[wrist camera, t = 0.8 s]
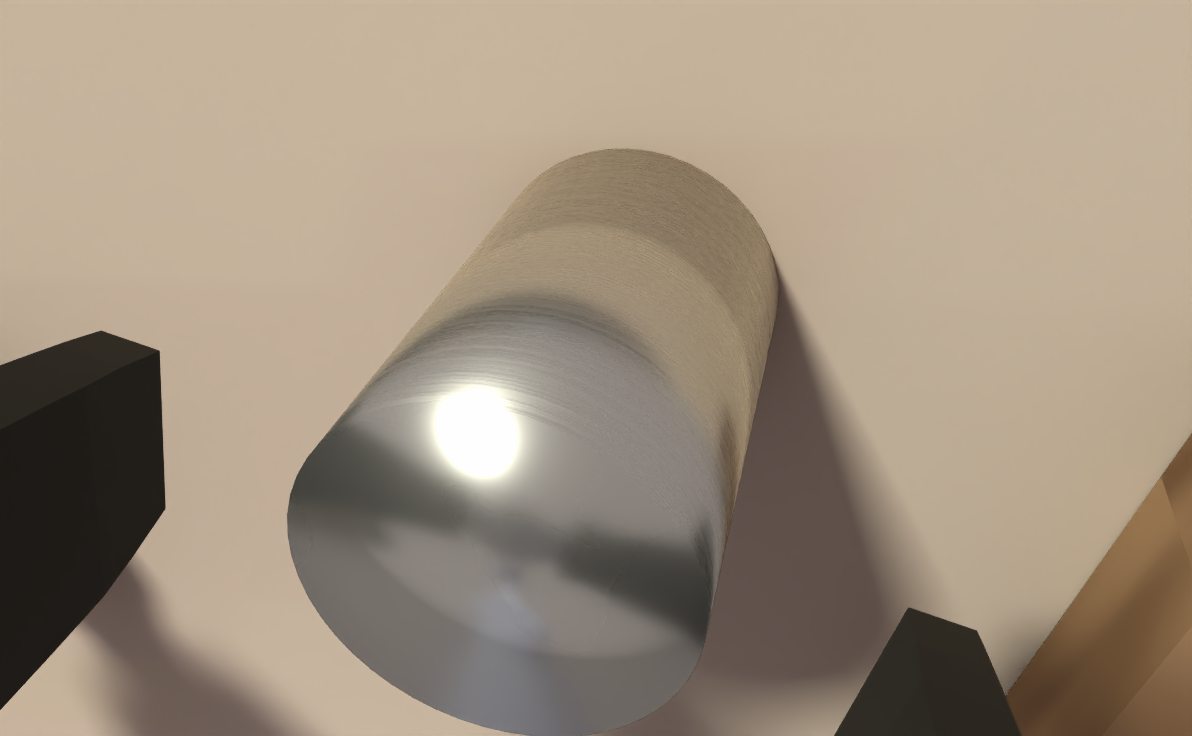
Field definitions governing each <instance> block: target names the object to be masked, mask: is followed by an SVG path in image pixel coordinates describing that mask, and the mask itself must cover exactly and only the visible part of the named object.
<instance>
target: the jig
mask: <svg viewBox="0 0 1192 736" xmlns="http://www.w3.org/2000/svg"><path fill="white" fill-rule="evenodd" d="M1006 699H1007V701H1008V703H1009V706H1010V708H1011V711H1012V713H1013V715H1014V718H1015V720H1016V722H1017V725H1018V727H1019V729H1020V732H1021V734H1022V736H1192V434H1191V435H1190V437H1189V438H1188V440H1187V441H1186V442H1185V444H1184V445H1183V447H1182V448H1181V449H1180V451H1179V452H1178V454H1177V455H1176V457H1175V458H1174V459H1173V461H1172V462H1171V464H1170V465H1169V466H1168V468H1167V469H1166V471H1165V472H1164V473H1163V475H1162V476H1161V478H1160V479H1159V481H1158V482H1157V483H1156V485H1155V486H1154V488H1153V489H1152V490H1151V492H1150V493H1149V495H1148V496H1147V498H1146V499H1145V500H1144V502H1143V503H1142V505H1141V506H1140V507H1139V509H1138V510H1137V512H1136V513H1135V514H1134V516H1133V517H1132V519H1131V520H1130V522H1129V523H1128V524H1127V526H1126V527H1125V529H1124V530H1123V531H1122V533H1121V534H1120V536H1119V537H1118V539H1117V540H1116V541H1115V543H1114V544H1113V546H1112V547H1111V548H1110V550H1109V551H1108V553H1107V554H1106V555H1105V557H1104V558H1103V560H1102V561H1101V563H1100V564H1099V565H1098V567H1097V568H1096V570H1095V571H1094V572H1093V574H1092V575H1091V577H1090V578H1089V580H1088V581H1087V582H1086V584H1085V585H1084V587H1083V588H1082V589H1081V591H1080V592H1079V594H1078V595H1077V597H1076V598H1075V599H1074V601H1073V602H1072V604H1071V605H1070V606H1069V608H1068V609H1067V611H1066V612H1065V613H1064V615H1063V616H1062V618H1061V619H1060V621H1059V622H1058V623H1057V625H1056V626H1055V628H1054V629H1053V630H1052V632H1051V633H1050V635H1049V636H1048V638H1047V639H1046V640H1045V642H1044V643H1043V645H1042V646H1041V647H1040V649H1039V650H1038V652H1037V653H1036V654H1035V656H1034V657H1033V659H1032V660H1031V662H1030V663H1029V664H1028V666H1027V667H1026V669H1025V670H1024V671H1023V673H1022V674H1021V676H1020V677H1019V679H1018V680H1017V681H1016V683H1015V684H1014V686H1013V687H1012V688H1011V690H1010V691H1009V693H1008V694H1007V695H1006Z"/></svg>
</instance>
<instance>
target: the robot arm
mask: <svg viewBox="0 0 1192 736" xmlns="http://www.w3.org/2000/svg"><path fill="white" fill-rule="evenodd" d="M164 510H165V482H164V456H163V429H162V402H161V376H160V351H159V350H156V349H153V348H150V347H147V346H144V345H141V344H138V343H136V342H133V341H130V340H127V339H124V338H121V337H118V336H115V335H112V334H109V333H106V332H103V331H98V332H95V333H92V334H89V335H86V336H82V337H79V338H76V339H73V340H70V341H67V342H64V343H61V344H58V345H55V346H53V347H50V348H47V349H44V350H41V351H38V352H36V353H33V354H30V355H27V356H25V357H22V358H19V359H16V360H14V361H11V362H8V363H5V364H3V365H0V710H1V709H2V708H3V707H4V705H5V704H6V703H7V702H8V701H9V700H10V699H11V698H12V697H13V696H14V695H15V694H16V692H17V691H18V690H19V689H20V688H21V687H22V686H23V685H24V684H25V683H26V682H27V681H28V679H29V678H30V677H31V676H32V675H33V674H34V673H35V672H36V671H37V670H38V669H39V667H40V666H41V665H42V664H43V663H44V662H45V661H46V660H47V659H48V658H49V657H50V655H51V654H52V653H53V652H54V651H55V650H56V649H57V648H58V647H59V646H60V644H61V643H62V642H63V641H64V640H65V639H66V638H67V637H68V636H69V634H70V633H71V632H72V631H73V630H74V629H75V628H76V627H77V626H78V625H79V623H80V622H81V621H82V620H83V619H84V618H85V617H86V616H87V615H88V613H89V612H90V611H91V610H92V609H93V608H94V607H95V605H96V604H97V603H98V602H99V601H100V600H101V599H102V598H103V596H104V595H105V594H106V593H107V591H108V590H109V588H110V587H111V586H112V584H113V583H114V582H115V580H116V579H117V577H118V576H119V575H120V573H121V572H122V571H123V569H124V568H125V567H126V565H127V564H128V562H129V561H130V560H131V558H132V557H133V556H134V554H135V553H136V551H137V550H138V548H139V547H140V545H141V544H142V542H143V541H144V539H145V538H146V536H147V535H148V533H149V532H150V531H151V529H152V528H153V526H154V525H155V523H156V522H157V520H158V519H159V517H160V516H161V514H162V513H163V511H164ZM834 736H1022V734H1021V732H1020V729H1019V727H1018V725H1017V722H1016V720H1015V718H1014V715H1013V713H1012V711H1011V708H1010V706H1009V703H1008V701H1007V699H1006V696H1005V694H1004V692H1003V689H1002V687H1001V685H1000V682H999V680H998V677H997V675H996V673H995V670H994V668H993V666H992V663H991V661H990V659H989V656H988V654H987V652H986V649H985V647H984V645H983V643H982V641H981V638H980V636H979V634H978V632H977V631H976V630H973V629H970V628H967V627H965V626H962V625H959V624H956V623H953V622H950V621H947V620H944V619H941V618H938V617H935V616H932V615H930V614H927V613H924V612H921V611H918V610H915V609H912V608H909V607H908V609H907V611H906V612H905V614H904V616H903V618H902V619H901V621H900V623H899V624H898V626H897V628H896V630H895V631H894V633H893V635H892V637H891V638H890V640H889V642H888V644H887V645H886V647H885V649H884V650H883V652H882V654H881V656H880V657H879V659H878V661H877V663H876V664H875V666H874V668H873V669H872V671H871V673H870V675H869V676H868V678H867V680H866V682H865V683H864V685H863V687H862V688H861V690H860V692H859V694H858V695H857V697H856V699H855V701H854V702H853V704H852V706H851V707H850V709H849V711H848V713H847V714H846V716H845V718H844V720H843V721H842V723H841V725H840V726H839V728H838V730H837V732H836V733H835V735H834Z"/></svg>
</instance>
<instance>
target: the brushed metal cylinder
mask: <svg viewBox="0 0 1192 736" xmlns="http://www.w3.org/2000/svg"><path fill="white" fill-rule="evenodd" d="M777 305H778V279H777V273H776V267H775V262H774V259H773V256H772V253H771V249H770V246H769V244H768V242H767V240H766V238H765V236H764V234H763V232H762V229H761V228H760V226H759V225H758V223H757V222H756V220H755V219H754V217H753V216H752V214H751V213H750V211H749V210H748V209H747V208H746V207H745V206H744V204H743V203H742V202H741V201H740V200H739V199H738V198H737V197H736V196H735V195H734V194H733V193H732V192H731V191H730V190H729V189H727V188H726V187H725V186H724V185H723V184H722V183H720V182H719V181H717V180H716V179H714V178H713V177H712V176H710V175H709V174H707V173H706V172H704V171H702V170H700V169H698V168H696V167H694V166H693V165H691V164H689V163H686V162H684V161H681V160H678V159H676V158H673V157H671V156H667V155H663V154H659V153H655V152H651V151H644V150H635V149H608V150H601V151H594V152H589V153H586V154H582V155H579V156H575V157H572V158H570V159H568V160H566V161H563V162H561V163H559V164H557V165H555V166H553V167H552V168H550V169H549V170H547V171H545V172H544V173H542V174H541V175H540V176H539V177H537V178H536V179H535V180H534V181H533V182H532V183H530V184H529V185H528V186H527V187H526V189H525V190H524V191H523V192H522V193H521V194H520V196H519V197H518V198H517V199H516V200H515V202H514V203H513V204H512V205H511V207H510V208H509V209H508V210H507V212H506V213H505V214H504V215H503V216H502V218H501V219H500V220H499V221H498V223H497V224H496V225H495V226H494V228H493V229H492V230H491V231H490V233H489V234H488V235H487V236H486V237H485V239H484V240H483V241H482V242H481V244H480V245H479V246H478V247H477V249H476V250H475V251H474V252H473V254H472V255H471V256H470V257H469V258H468V260H467V261H466V262H465V263H464V265H463V266H462V267H461V268H460V270H459V271H458V272H457V273H456V275H455V276H454V277H453V278H452V280H451V281H450V282H449V283H448V284H447V286H446V287H445V288H444V289H443V291H442V292H441V293H440V294H439V296H438V297H437V298H436V299H435V301H434V302H433V303H432V304H431V305H430V307H429V308H428V309H427V310H426V312H425V313H424V314H423V315H422V317H421V318H420V319H419V320H418V322H417V323H416V324H415V325H414V326H413V328H412V329H411V330H410V331H409V333H408V334H407V335H406V336H405V338H404V339H403V340H402V341H401V343H400V344H399V345H398V346H397V347H396V349H395V350H394V351H393V352H392V354H391V355H390V356H389V357H388V359H387V360H386V361H385V362H384V364H383V365H382V366H381V367H380V368H379V370H378V371H377V372H376V373H375V375H374V376H373V377H372V378H371V380H370V381H369V382H368V383H367V385H366V386H365V387H364V388H363V390H362V391H361V392H360V393H359V394H358V396H357V397H356V398H355V399H354V401H353V402H352V403H351V404H350V406H349V407H348V408H347V409H346V411H345V412H344V413H343V414H342V415H341V417H340V418H339V419H338V420H337V422H336V423H335V424H334V425H333V427H332V428H331V429H330V430H329V432H328V433H327V434H326V435H325V436H324V438H323V439H322V440H321V441H320V443H319V444H318V445H317V446H316V448H315V449H314V450H313V451H312V453H311V454H310V455H309V456H308V457H307V459H306V461H305V462H304V464H303V466H302V468H301V469H300V471H299V473H298V475H297V477H296V480H295V482H294V485H293V488H292V491H291V494H290V500H289V507H288V513H287V522H288V539H289V544H290V550H291V555H292V559H293V562H294V565H295V568H296V571H297V574H298V577H299V579H300V581H301V583H302V585H303V587H304V589H305V591H306V593H307V595H308V597H309V599H310V600H311V602H312V604H313V605H314V607H315V608H316V610H317V612H318V613H319V615H320V616H321V618H322V619H323V620H324V621H325V623H326V624H327V625H328V627H329V628H330V629H331V630H332V632H333V633H334V634H335V635H336V636H337V637H338V639H339V640H340V641H341V642H342V643H343V644H344V645H345V646H346V647H347V648H348V649H349V650H350V651H351V652H352V653H353V654H354V655H355V656H356V657H357V658H359V659H360V660H361V661H362V662H363V663H364V664H365V665H367V666H368V667H369V668H370V669H371V670H373V671H374V672H375V673H377V674H378V675H379V676H381V677H382V678H383V679H385V680H386V681H388V682H389V683H390V684H392V685H393V686H395V687H397V688H398V689H400V690H401V691H403V692H405V693H406V694H408V695H410V696H411V697H413V698H415V699H417V700H419V701H421V702H423V703H425V704H426V705H428V706H430V707H432V708H434V709H436V710H439V711H441V712H444V713H446V714H449V715H451V716H453V717H456V718H458V719H461V720H464V721H467V722H470V723H473V724H477V725H480V726H483V727H487V728H491V729H495V730H500V731H504V732H509V733H516V734H523V735H530V736H583V735H589V734H596V733H602V732H606V731H609V730H613V729H617V728H620V727H624V726H626V725H628V724H631V723H633V722H635V721H638V720H640V719H642V718H644V717H646V716H648V715H649V714H651V713H653V712H654V711H656V710H657V709H659V708H661V707H662V706H663V705H664V704H665V703H667V702H668V701H669V700H670V699H671V698H672V697H674V696H675V695H676V694H677V693H678V692H679V690H680V689H681V688H682V687H683V685H684V684H685V683H686V682H687V680H688V679H689V678H690V676H691V674H692V672H693V671H694V669H695V667H696V665H697V663H698V661H699V659H700V655H701V652H702V649H703V646H704V643H705V639H706V634H707V630H708V625H709V620H710V616H711V611H712V607H713V602H714V598H715V593H716V588H717V584H718V579H719V575H720V570H721V566H722V561H723V556H724V552H725V547H726V543H727V538H728V534H729V529H730V524H731V520H732V515H733V511H734V506H735V502H736V497H737V492H738V488H739V483H740V479H741V474H742V469H743V465H744V460H745V456H746V451H747V447H748V442H749V437H750V433H751V428H752V424H753V419H754V415H755V410H756V405H757V401H758V396H759V392H760V387H761V383H762V378H763V373H764V369H765V364H766V360H767V355H768V350H769V346H770V341H771V337H772V332H773V328H774V323H775V318H776V312H777Z"/></svg>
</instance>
